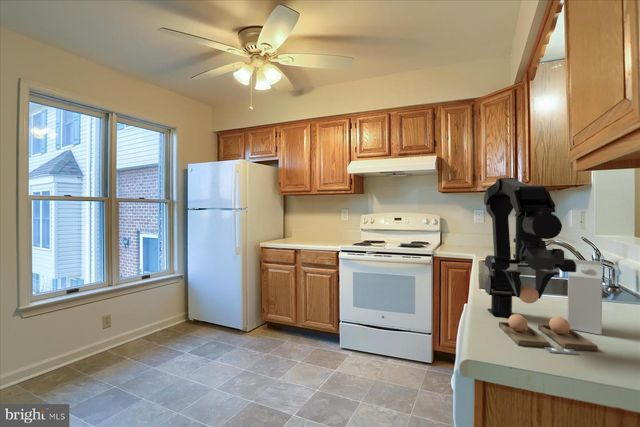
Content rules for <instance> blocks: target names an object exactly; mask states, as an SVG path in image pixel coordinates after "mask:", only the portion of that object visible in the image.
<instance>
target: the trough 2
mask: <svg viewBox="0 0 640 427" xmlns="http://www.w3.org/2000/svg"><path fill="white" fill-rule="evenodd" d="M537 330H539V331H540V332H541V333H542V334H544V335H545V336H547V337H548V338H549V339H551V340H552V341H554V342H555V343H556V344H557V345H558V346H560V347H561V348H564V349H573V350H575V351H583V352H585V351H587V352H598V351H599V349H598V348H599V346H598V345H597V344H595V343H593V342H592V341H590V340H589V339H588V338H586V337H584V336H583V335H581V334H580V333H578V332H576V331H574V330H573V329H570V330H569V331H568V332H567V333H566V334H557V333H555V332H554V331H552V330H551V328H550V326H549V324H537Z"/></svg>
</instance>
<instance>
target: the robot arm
mask: <svg viewBox="0 0 640 427" xmlns="http://www.w3.org/2000/svg"><path fill="white" fill-rule="evenodd" d="M483 204H484V205H485V209H486V213H488V215H489V216H490V217H491V221H492V240H493V243H492V244H493V255H492V254H491V255H490V254H488V255H487V256H486V257H485V260H484V266H485V267H487V268H489V271H488V272H489V273H488V277H487V279H486V282H485V285H484V289H485V290H484V291H485V293H486V294H487V295H488V296H491V298H490V299H491V305H490V306H491V308H487V309H486V310H487V311H488V312H489V313H490V314H491V315H492V316H494V317H504V318H509V317H510V316H511V315H514V314H515V313H514V312H513V297H515V298H519V297H520V288H521V287H522V284H523V283H522V281H521V278H520V276H521V273H522V272H521V271H520V270H519V269H518V267H519V268H530V269H531V270H533V271H534V270H535V274H534V275H535V276H534V277H535V289H536V290H537V291H538V293H539V298H538V299H541V298H542V296H543V294H544V291H545V289H546V288H547V285H548V283H549V282H550V280H551V279H552V278H554V276H559V275H560V273H561V272H563V273H568V272H576V266H577V265H576V263H575V262H574V261H573V260H571V259H572V258H567V257H565V250H563V249H562V248H551V249H547V247H546V246H547V243H546V240H550V239H554V238H556V237H558V236H559V234H560V233H561V232H562V230H563V229H562V228H563V224H562V221H561V220H560V218H559V217H558V216H557V215H556V214H553V213H555V212H556V209H555V208H556V204H555V202H554V200H553V197H552V196H551V194H550V191H549V190H548V189H547V187H546V186H545V185H541V184H540V185H539V184H537V185H534V184H533V185H529V184H525V183H524V182H522V181H519V180H517V178H514V177H500V178H497V179H496V181H495V183H493V184H492V185H490V186H488V187H487V189H486V190H485V193H484V195H483ZM513 210H514V211H515V214H514V217H515V237H513V243H515V245H514V246H515V247H514V249H515V250H514V253H513V254H511V240H510V239H511V238H510V237H511V235H510V224H509V223H510V222H509V216H510V214H511V213H512V211H513ZM512 256H513V257H512ZM558 269H559V270H560V271H561V272H559V271H557V270H558ZM519 299H520V298H519Z"/></svg>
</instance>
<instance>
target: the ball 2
mask: <svg viewBox="0 0 640 427" xmlns="http://www.w3.org/2000/svg"><path fill="white" fill-rule="evenodd" d="M538 298H539V293H538V291H537V290H536V287H534V286H532V285H530V284H529V285H528V284H525V285H521V288H520V297H519V299H520V300H521V302H524V303H525V304H534V303H536V302H537V301H538Z"/></svg>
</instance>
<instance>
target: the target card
mask: <svg viewBox="0 0 640 427" xmlns="http://www.w3.org/2000/svg"><path fill="white" fill-rule="evenodd" d="M543 349H544V350H546V351H547V352H548V353H549V354H561V355H562V354H563V355H573V356H579V355H580V353H579V352H577V350H573V349H564V348H563V347H561V348H560V347H551V346H550V347H544V348H543Z"/></svg>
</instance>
